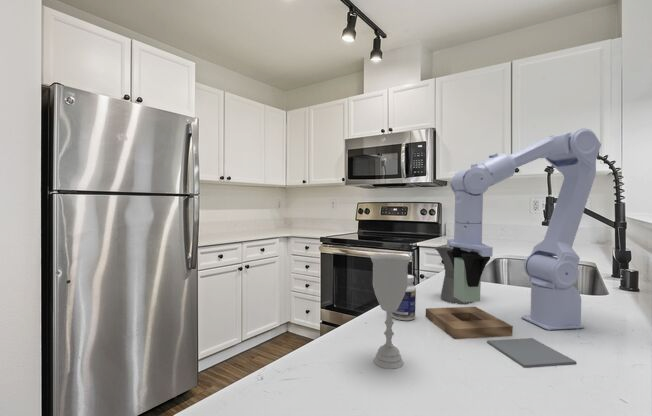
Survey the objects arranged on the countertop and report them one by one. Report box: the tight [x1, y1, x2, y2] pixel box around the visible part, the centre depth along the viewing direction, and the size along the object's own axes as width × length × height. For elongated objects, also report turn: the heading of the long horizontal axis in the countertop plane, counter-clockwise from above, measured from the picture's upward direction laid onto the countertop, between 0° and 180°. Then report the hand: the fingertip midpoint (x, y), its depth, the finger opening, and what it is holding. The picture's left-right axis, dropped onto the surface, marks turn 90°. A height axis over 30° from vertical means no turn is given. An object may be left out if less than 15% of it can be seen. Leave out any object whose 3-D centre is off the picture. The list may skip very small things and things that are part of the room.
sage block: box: [454, 258, 482, 303], centre depth 75 cm, size 4×4×9 cm
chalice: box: [369, 253, 412, 370], centre depth 58 cm, size 7×7×18 cm
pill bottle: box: [392, 274, 417, 321], centre depth 80 cm, size 6×6×10 cm
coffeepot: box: [434, 243, 473, 305], centre depth 95 cm, size 15×9×18 cm, turn 94°
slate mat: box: [486, 337, 577, 368], centre depth 62 cm, size 10×10×1 cm
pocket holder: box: [425, 306, 513, 340], centre depth 75 cm, size 13×13×2 cm
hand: (466, 283), depth 75 cm, fingers closed on sage block, 4 cm apart
